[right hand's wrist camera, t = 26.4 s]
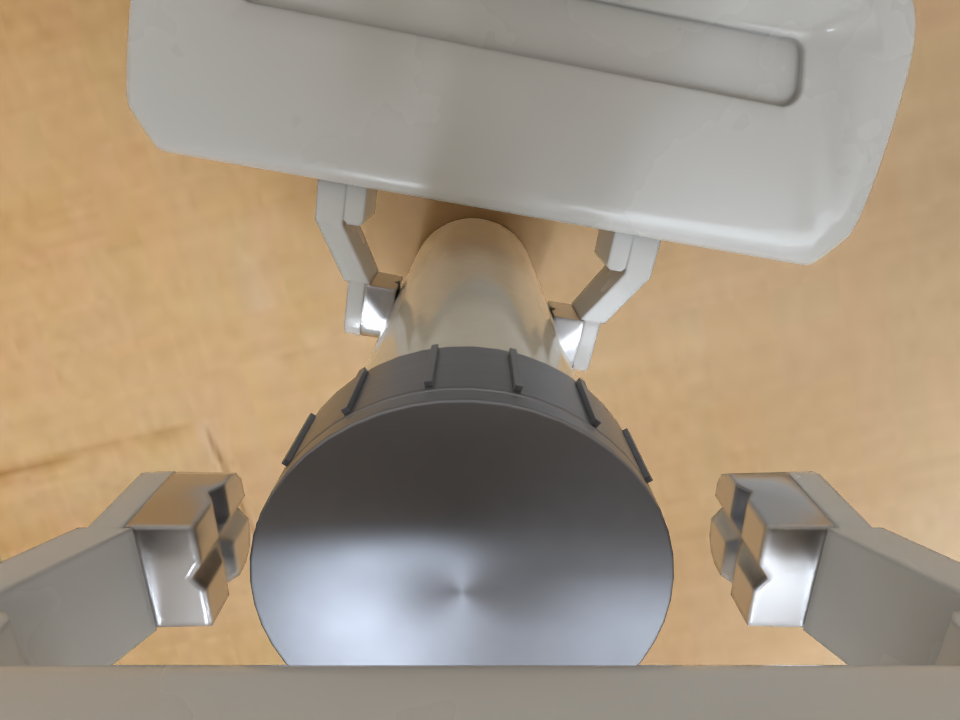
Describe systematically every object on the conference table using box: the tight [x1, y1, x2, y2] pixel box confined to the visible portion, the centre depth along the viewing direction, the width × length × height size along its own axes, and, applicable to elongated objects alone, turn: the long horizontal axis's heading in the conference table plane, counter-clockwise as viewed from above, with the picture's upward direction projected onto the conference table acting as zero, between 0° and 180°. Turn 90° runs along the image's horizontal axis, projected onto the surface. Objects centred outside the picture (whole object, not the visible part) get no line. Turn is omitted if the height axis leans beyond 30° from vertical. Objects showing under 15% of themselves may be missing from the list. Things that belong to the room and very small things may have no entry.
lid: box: [250, 344, 674, 665], centre depth 9 cm, size 6×6×2 cm
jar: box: [365, 218, 577, 381], centre depth 17 cm, size 5×5×17 cm
